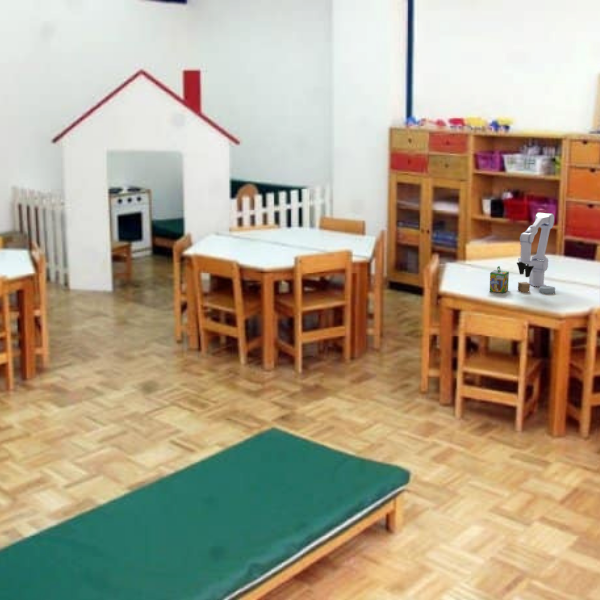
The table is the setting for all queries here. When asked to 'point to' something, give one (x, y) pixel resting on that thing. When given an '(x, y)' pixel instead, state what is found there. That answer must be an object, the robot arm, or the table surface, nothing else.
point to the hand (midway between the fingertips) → (524, 275)
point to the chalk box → (499, 281)
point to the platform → (547, 289)
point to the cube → (523, 286)
